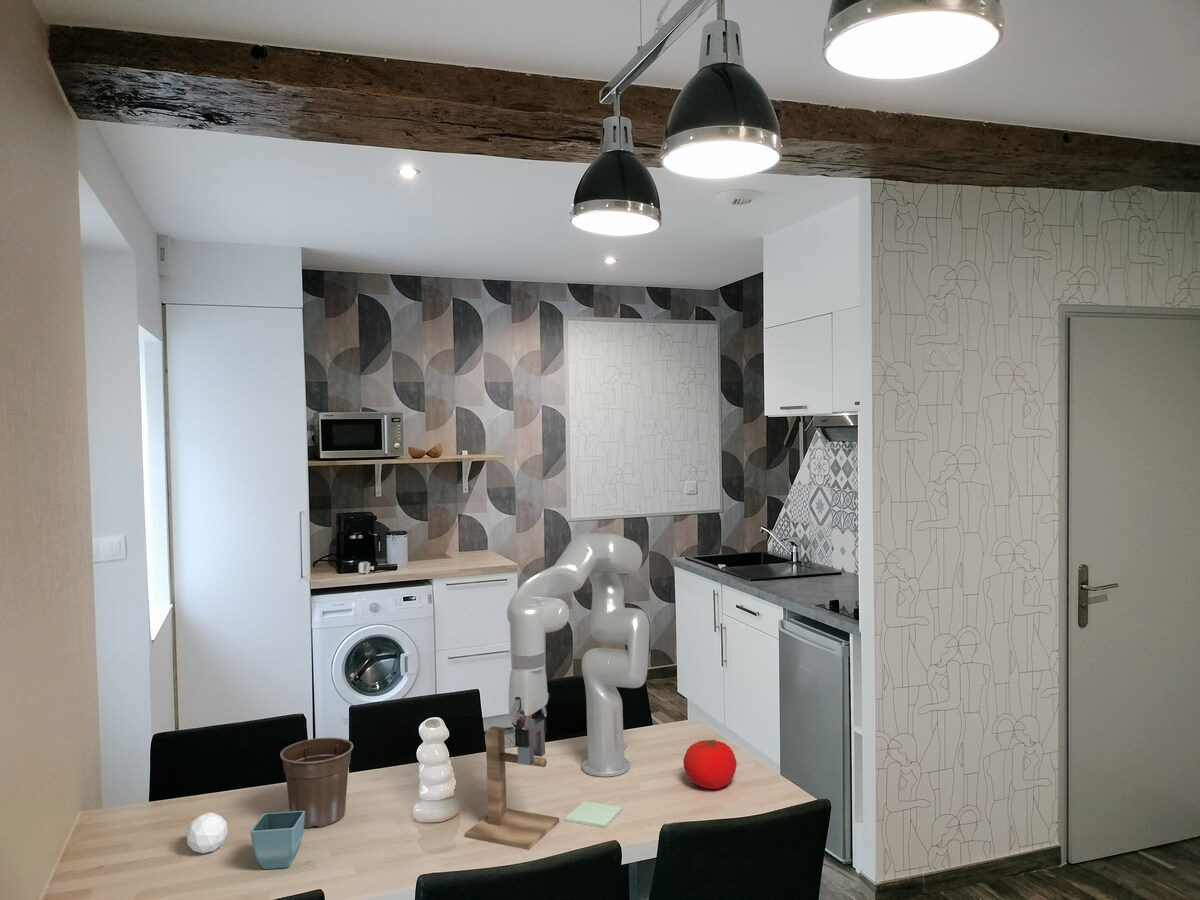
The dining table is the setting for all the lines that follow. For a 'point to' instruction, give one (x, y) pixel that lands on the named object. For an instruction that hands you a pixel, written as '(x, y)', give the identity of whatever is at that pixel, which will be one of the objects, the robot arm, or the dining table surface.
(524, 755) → the link
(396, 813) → the dining table surface
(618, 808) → the mat
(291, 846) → the flower pot
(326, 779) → the plant pot
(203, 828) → the white faceted egg
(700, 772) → the tomato
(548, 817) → the stand
